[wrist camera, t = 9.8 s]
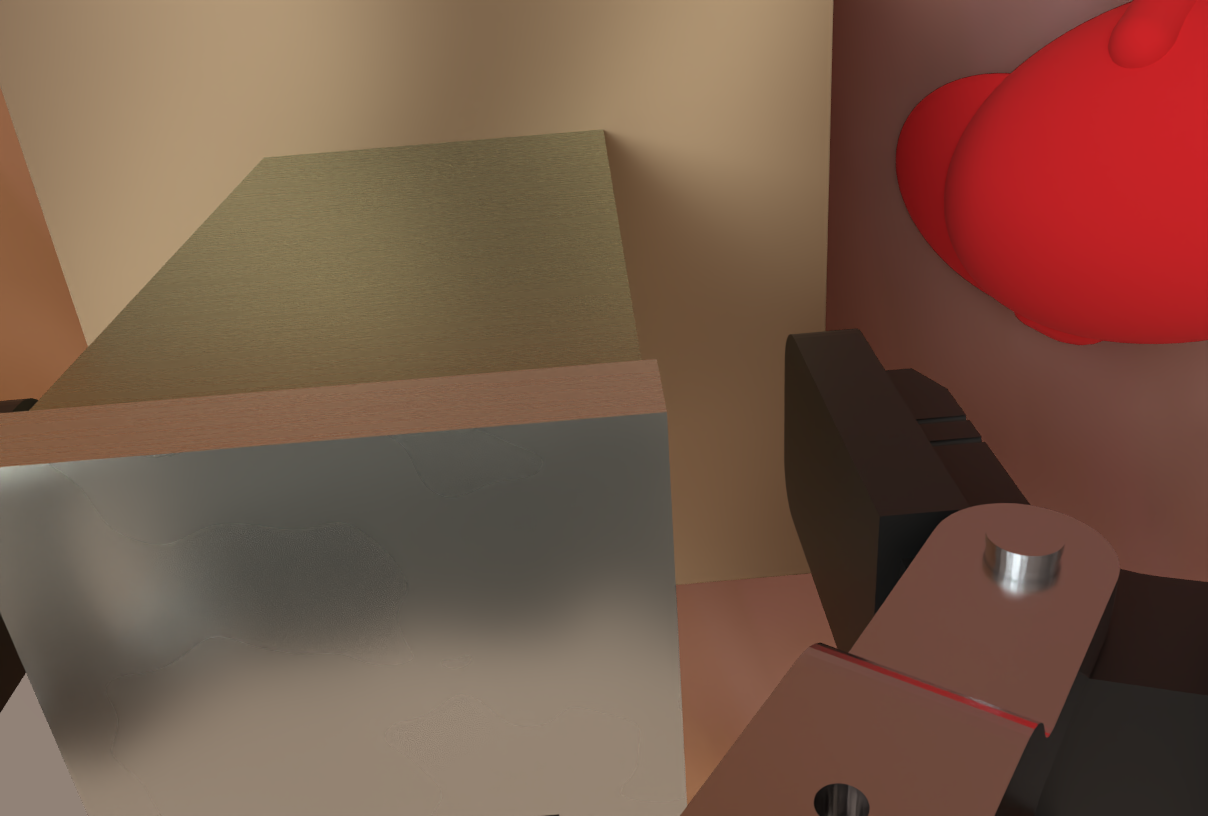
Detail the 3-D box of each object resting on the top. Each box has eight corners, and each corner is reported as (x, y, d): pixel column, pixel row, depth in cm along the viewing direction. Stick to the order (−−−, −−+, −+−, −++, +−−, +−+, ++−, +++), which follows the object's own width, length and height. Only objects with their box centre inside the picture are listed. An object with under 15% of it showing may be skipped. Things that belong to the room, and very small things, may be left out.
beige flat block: (764, -150, 17) (836, -147, 13) (766, 426, 22) (819, 572, 18) (105, -93, 17) (-53, -70, 13) (257, 470, 22) (182, 627, 18)
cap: (1517, -181, 14) (1274, -133, 12) (1593, 244, 15) (1382, 380, 13) (1032, 20, 21) (811, 78, 19) (1102, 303, 22) (899, 397, 20)
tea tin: (610, 120, 14) (667, 412, 7) (631, 431, 16) (690, 895, 9) (254, 150, 14) (-61, 471, 7) (324, 456, 16) (141, 941, 9)
